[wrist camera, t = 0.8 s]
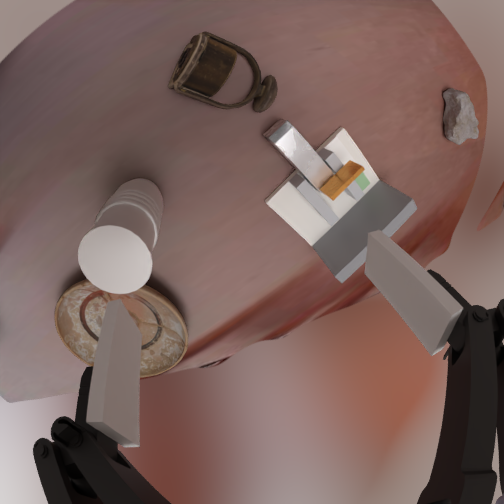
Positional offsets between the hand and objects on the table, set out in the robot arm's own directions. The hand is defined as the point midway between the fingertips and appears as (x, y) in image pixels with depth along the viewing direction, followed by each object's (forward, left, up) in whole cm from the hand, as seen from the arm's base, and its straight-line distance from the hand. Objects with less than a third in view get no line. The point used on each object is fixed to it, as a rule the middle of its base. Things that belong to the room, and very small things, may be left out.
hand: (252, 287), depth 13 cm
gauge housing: (+14, +9, -24) cm, 29 cm away
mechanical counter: (-7, +9, -24) cm, 27 cm away
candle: (-5, -9, -24) cm, 26 cm away
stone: (+21, +38, -24) cm, 50 cm away
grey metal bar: (+6, +10, -22) cm, 26 cm away
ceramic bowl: (+4, -29, -24) cm, 38 cm away
